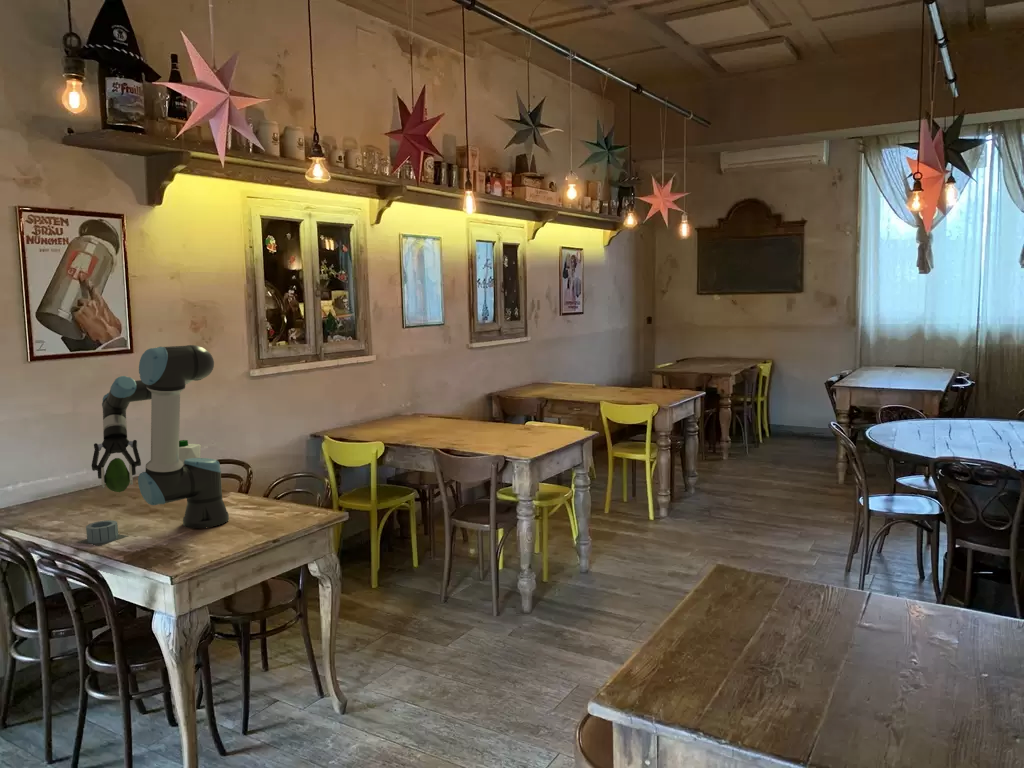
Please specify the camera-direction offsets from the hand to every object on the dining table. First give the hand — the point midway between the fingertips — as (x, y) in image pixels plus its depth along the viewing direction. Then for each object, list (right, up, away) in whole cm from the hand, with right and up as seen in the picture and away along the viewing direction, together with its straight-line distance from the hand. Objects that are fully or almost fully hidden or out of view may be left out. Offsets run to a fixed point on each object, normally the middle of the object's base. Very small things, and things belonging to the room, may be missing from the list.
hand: (117, 483), depth 256 cm
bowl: (0, -17, -8) cm, 19 cm away
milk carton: (0, -10, +59) cm, 60 cm away
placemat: (0, -18, -8) cm, 19 cm away
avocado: (-1, -3, +4) cm, 5 cm away
